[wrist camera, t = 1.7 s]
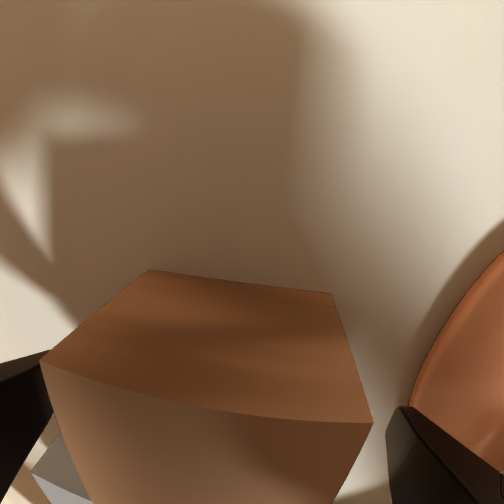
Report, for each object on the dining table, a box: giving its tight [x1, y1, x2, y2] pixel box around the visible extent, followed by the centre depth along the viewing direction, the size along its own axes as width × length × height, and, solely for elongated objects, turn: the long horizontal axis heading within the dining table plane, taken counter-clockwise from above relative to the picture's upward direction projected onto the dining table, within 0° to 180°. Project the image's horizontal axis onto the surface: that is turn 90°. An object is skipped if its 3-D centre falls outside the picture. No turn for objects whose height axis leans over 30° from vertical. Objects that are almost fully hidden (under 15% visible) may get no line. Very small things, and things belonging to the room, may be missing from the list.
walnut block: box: [39, 270, 373, 504], centre depth 7 cm, size 5×5×5 cm
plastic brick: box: [31, 432, 93, 504], centre depth 10 cm, size 4×5×4 cm
